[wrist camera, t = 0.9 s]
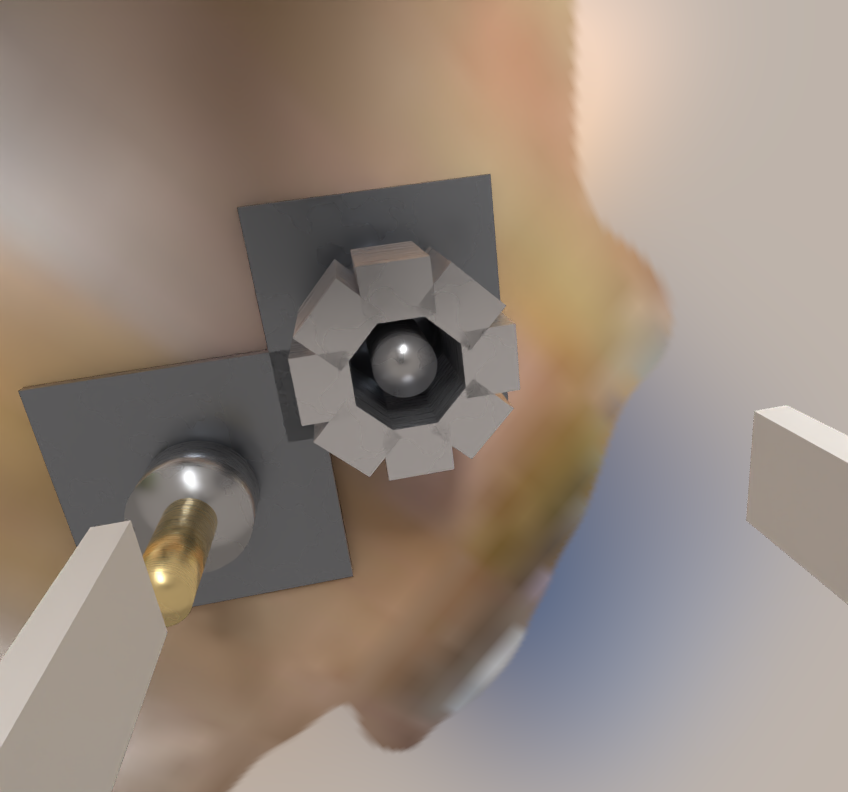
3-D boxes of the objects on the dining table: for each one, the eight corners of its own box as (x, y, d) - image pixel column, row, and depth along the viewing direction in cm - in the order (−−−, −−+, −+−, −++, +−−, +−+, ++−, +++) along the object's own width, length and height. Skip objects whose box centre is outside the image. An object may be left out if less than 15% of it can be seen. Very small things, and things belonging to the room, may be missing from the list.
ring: (282, 259, 25) (271, 278, 20) (476, 231, 26) (509, 244, 21) (317, 439, 28) (315, 493, 23) (492, 410, 28) (524, 456, 24)
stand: (239, 206, 29) (199, 221, 20) (487, 174, 30) (554, 174, 21) (288, 438, 33) (274, 534, 24) (505, 401, 35) (567, 481, 26)
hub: (23, 387, 30) (-102, 475, 22) (308, 343, 32) (301, 409, 23) (108, 616, 35) (35, 765, 26) (352, 569, 37) (360, 697, 28)
